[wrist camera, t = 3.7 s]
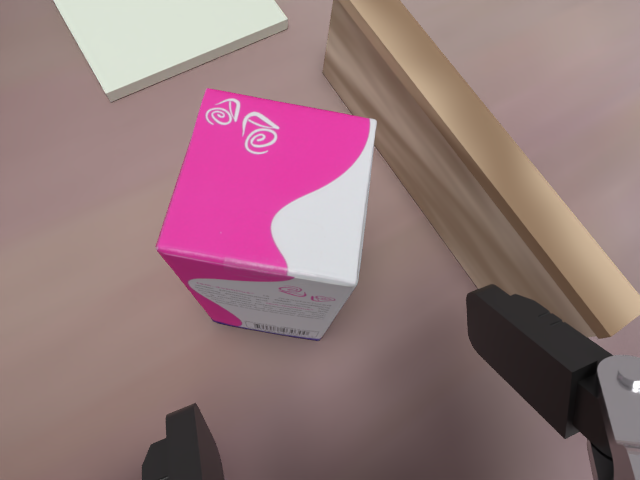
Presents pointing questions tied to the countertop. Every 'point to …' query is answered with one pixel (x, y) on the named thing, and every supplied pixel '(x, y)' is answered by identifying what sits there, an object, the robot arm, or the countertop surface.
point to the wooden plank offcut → (470, 170)
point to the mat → (162, 36)
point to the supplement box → (270, 213)
